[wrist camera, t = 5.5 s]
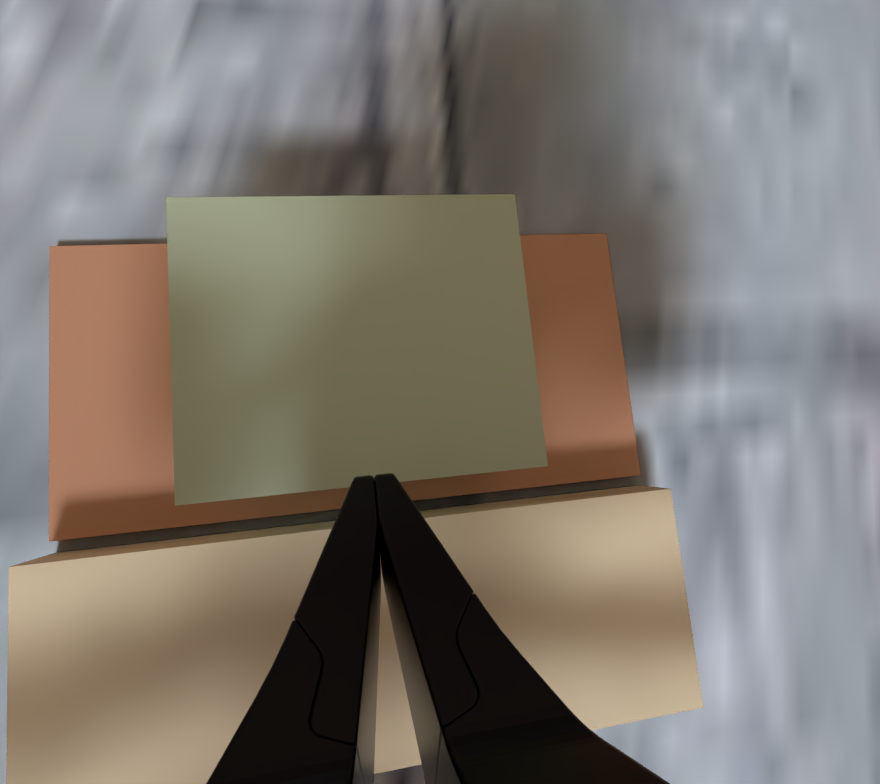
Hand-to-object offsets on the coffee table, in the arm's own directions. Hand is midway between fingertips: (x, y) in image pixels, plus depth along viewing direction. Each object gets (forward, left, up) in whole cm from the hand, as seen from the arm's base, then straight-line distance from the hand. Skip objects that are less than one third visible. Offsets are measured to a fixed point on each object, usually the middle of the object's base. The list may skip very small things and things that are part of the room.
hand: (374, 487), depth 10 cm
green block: (0, 0, -4) cm, 4 cm away
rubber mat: (+4, 0, -7) cm, 8 cm away
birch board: (-5, 0, -7) cm, 8 cm away
